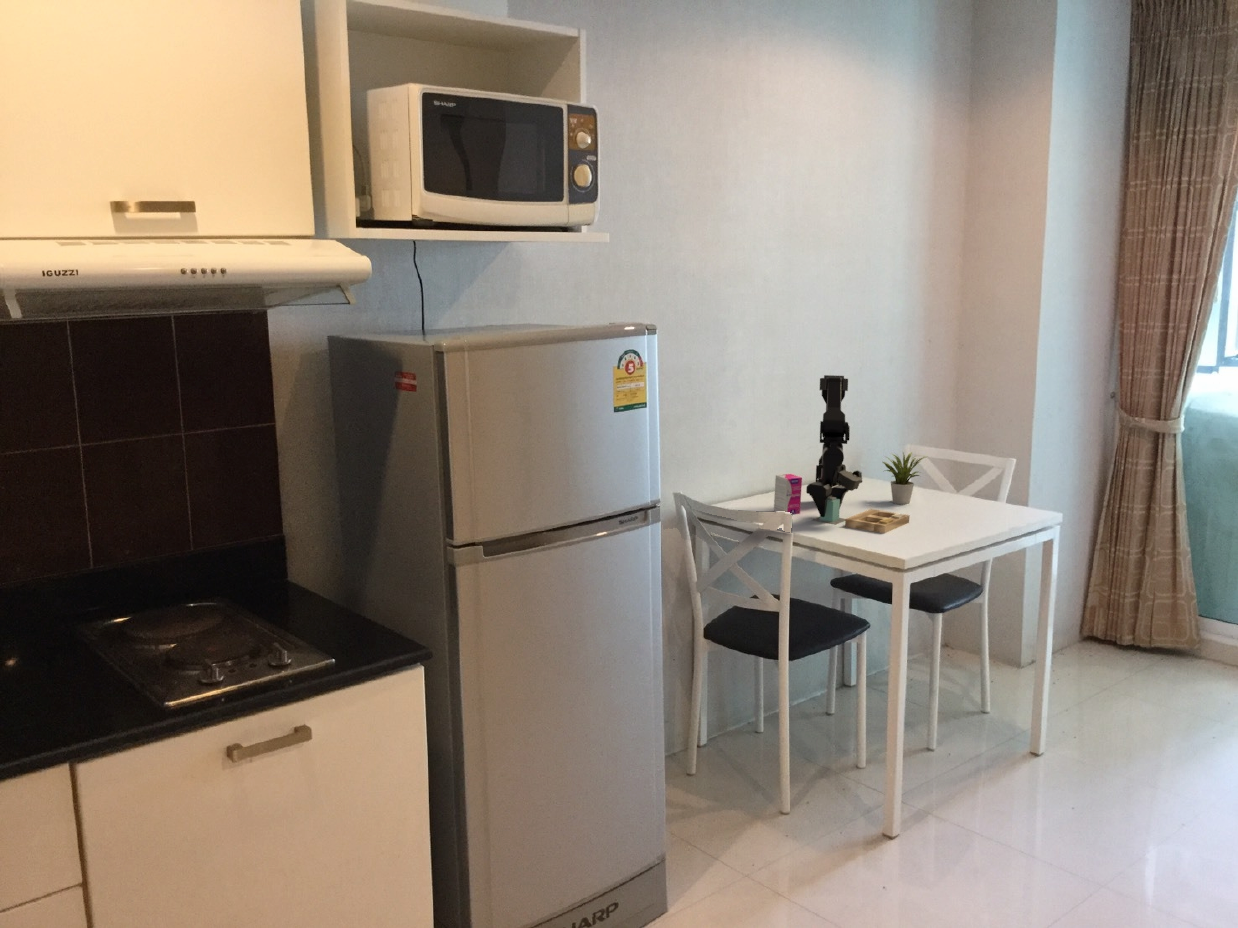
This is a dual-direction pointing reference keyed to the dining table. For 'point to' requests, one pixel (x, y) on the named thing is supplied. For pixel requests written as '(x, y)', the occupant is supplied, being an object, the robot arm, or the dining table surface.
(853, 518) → the socket block
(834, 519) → the plug
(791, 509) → the supplement box
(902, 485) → the house plant
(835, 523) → the mat
